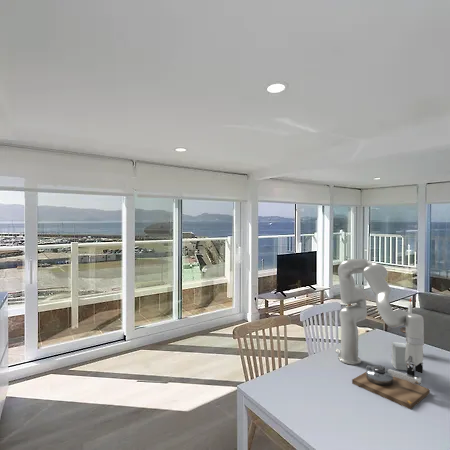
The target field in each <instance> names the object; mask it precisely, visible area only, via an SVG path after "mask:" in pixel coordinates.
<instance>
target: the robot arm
mask: <svg viewBox="0 0 450 450" xmlns="http://www.w3.org/2000/svg"><path fill="white" fill-rule="evenodd" d="M337 274H338V280H339V281H338V282H339V293H340V300H341V302H342V304H344V305H348V306H344V307H342V308H341V309H340V311H339V321H340V322H339V323H340V348H338V347H336V349H335V353H336V354H338V356H337V357H338V358H337V359H338V361H340V362H341V363H344V364H346V365H350V366H351V365H352V366H353V365H354V366H356V365H360V364H361V363H362V359H361V358H360V357H359V328H358V326H357V323H358V322H361V321H364V320H366V318H367V316H368V308H367V298H366V297H367V296H366V293H365V291H364V289H362V288H361V287H359V286H356V283H355V278H354V276H353V275H356V274H362V275H363V278H364V279H365V280H366V282H367V284H368V285H369V288H370V289H371V290H372V292H373V294H374V295H375V304H376V310H377V312H378V314H379V315H380V317H381V319H382V321H384V323H385V324H386V325H387V326H388V327H390V328H393V329H394V328H399V327H406V333H405V342H406V343H405V344H406V350H405V363H406V365H407V366H406V367H407V370H406V374H409V375H412V376H416V372H417V373H419V374H423V373H424V370H423V369H424V368H423V367H424V365H423V364H424V363H423V361H424V345H425V344H424V343H425V336H424V335H425V328H424V327H425V325H424V323H425V322H424V316H423V315H421V314H419V313H418V314H417V313H413V312H412V313H409V312H408V311H406V310H404V309H396V310H393V308H392V307H391V304H390V302H389V296H390V295H391V292H392V288H391V287H390V285H389V283H388V282H387V280H386V278H387V276H388V270H387V268H386V267H385V266H383V265H382V264H380V263H377V262H374V261H372V260H369V259H365V258H355V259H354V258H352V259H346V260H343V261H341V263H340V264H339V265H338V267H337Z"/></svg>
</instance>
